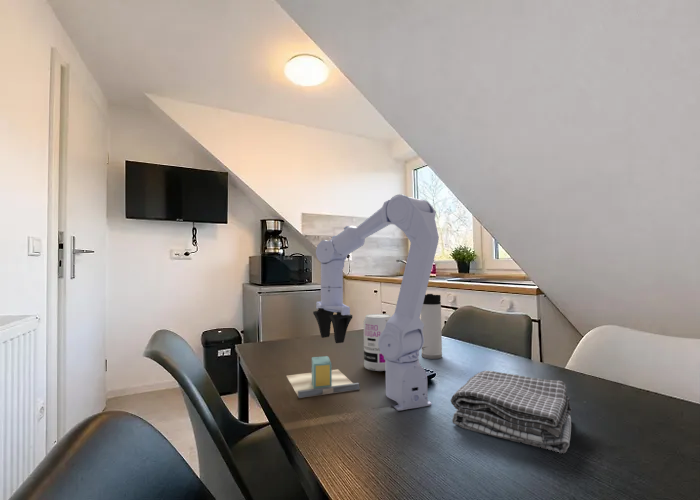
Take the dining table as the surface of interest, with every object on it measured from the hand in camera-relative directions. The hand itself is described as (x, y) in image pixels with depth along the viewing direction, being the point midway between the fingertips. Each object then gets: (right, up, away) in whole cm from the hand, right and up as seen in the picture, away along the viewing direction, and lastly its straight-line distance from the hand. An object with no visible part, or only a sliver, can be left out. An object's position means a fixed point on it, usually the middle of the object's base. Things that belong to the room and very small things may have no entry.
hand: (332, 339), depth 91 cm
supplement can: (+13, -10, +7) cm, 18 cm away
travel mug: (+30, -11, +20) cm, 38 cm away
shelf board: (-3, -10, -6) cm, 12 cm away
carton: (-2, -9, -8) cm, 12 cm away
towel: (+34, -9, -27) cm, 45 cm away
